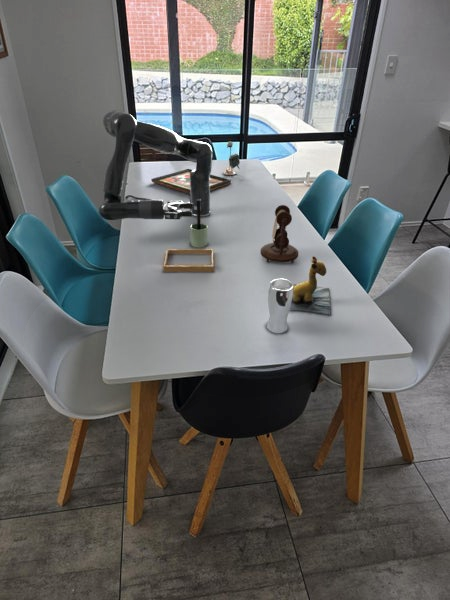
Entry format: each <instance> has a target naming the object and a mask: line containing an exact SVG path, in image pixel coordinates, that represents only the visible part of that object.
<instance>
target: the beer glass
mask: <svg viewBox="0 0 450 600" xmlns="http://www.w3.org/2000/svg"><path fill="white" fill-rule="evenodd" d="M293 284H294V283H293V282H292V281H291V280H288V279H287V278H276V279H272V281H270V283H269V287H268V288H269V289H268V296H267V305H268V315H269V316H268V320H267V324H266V328H267V329H268V331H270V332H271V333H274V334H283V333H285V332H287V330H288V317H289V313H290V311H291V309H290V308H291V305H292V300H293V287H294V285H293Z"/></svg>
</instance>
